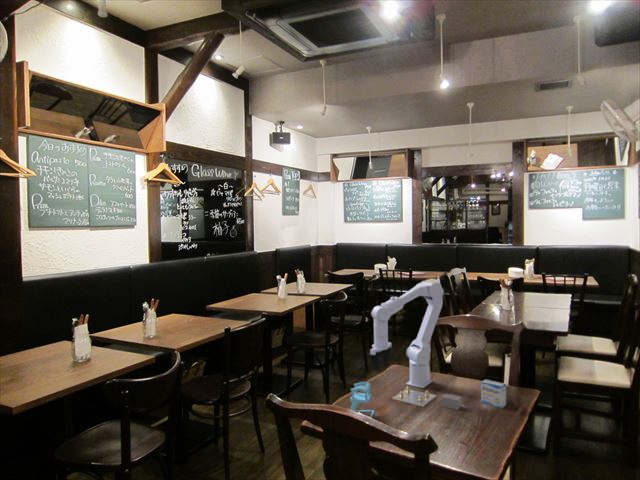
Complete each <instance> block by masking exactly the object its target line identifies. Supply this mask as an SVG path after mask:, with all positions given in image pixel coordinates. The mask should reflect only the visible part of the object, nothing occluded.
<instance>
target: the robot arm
mask: <svg viewBox="0 0 640 480" xmlns="http://www.w3.org/2000/svg"><path fill="white" fill-rule="evenodd" d="M444 293H445V290H444V288H443V287H442V284H441V283H439V282H433V281H432V282H431V281H428V280H422V281H421V282H419V283H417V284H416V285H415V286H414V287H412V288H410V289H409V290H408V291H405V293H403V294H402V295H400V296H399V297H397V296H391V297H390V298H389V300H387V301H385V302H382V303H381V304H380V305H376V306H374V307H373V309H372V310H371V312H370V315H371V317H372V318H373V344H372V345H371V347H372V348H370V350H369V351H370V352H369V353H368V357H369V358H370V360H371V362H372V366H373V370H374V371H376V372H379V371H380V370H381V361H382V364H383V366H384V367H389V366H390V361H391V356H392V354H393V352H394V347H393V348H392V342H389V333H388V332H389V330H388V329H389V326H388V322H389V320H390V318H391V316H393V315H394V314H396V313H397V312H399V311H401V310H402V309H403V308H404V306H405V304H407V303H409V302H411V301H413V300H414V299H416V298H418V297H423V298H424V299H425V300H426V302H427V304H428V306H427V307H426V311H425V314H424V317H423V319H422V322H421V325H420V328H419V331H418V333H417V336H416V338H415V339H414V340H413V341H411V343H410V345H409V347H407V349H406V357H407V358H408V359H409V380H408V382H406V383H405V385H407V386H412V387H416V388H422V389H423V388H425V387H428V385H430V384H431V383H432V382H433V380H432V379H431V367H430V364H429V363H430V362H429V361H430V359H431V352H432V351H431V350H432V349H431V346H430V342H431V338H432V336H433V333H434V330H435V328H436V327H435V326H436V325H437V322H438V320H439V316H440V314H441V310H442V309H443V301H444V300H443V295H444ZM380 353H381V354H380Z"/></svg>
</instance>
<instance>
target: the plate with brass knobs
mask: <svg viewBox="0 0 640 480" xmlns="http://www.w3.org/2000/svg"><path fill="white" fill-rule="evenodd" d="M410 388H411V387H410V386H406V388H405V389H403V390H400V391H399V393H397V394H396V395H395V396H393V397H392V400H395V401H400V402H404V403H406V404H407V403H408V404H411V405H415V406H419V407H420V406H421V407H425V406H427V405H428V403H430V402H432V401H433V400H434V399H435V398H436V397H437V395H436V394H432V393H429V390H425V391H424V392H423V391H419V390H413V389H410Z"/></svg>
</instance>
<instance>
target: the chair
mask: <svg viewBox="0 0 640 480" xmlns="http://www.w3.org/2000/svg"><path fill="white" fill-rule="evenodd" d="M371 385H372V384H371V383H370V382H367V381H359V382H357V383H353V386H354V387H353V388H350V391H351V397H350V399H349V401H350V402H351V407H350V410H354V411H358V412H357V413H371V414H370V416H369V417H373V416H374V413H375V410H374V409H373V410H371V409H368V410H367V409H364V410H362V409H361V410H359V409H358V410H356V409H357V407H358V404H362V403H364V404H369V402H370V400H371V398H372V396H373V394H372V393H371V392H370V391H371ZM358 391H361V392H358ZM362 392H364V393H362Z"/></svg>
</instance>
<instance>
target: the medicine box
mask: <svg viewBox="0 0 640 480" xmlns="http://www.w3.org/2000/svg"><path fill="white" fill-rule="evenodd" d="M480 385H481V386H480V397H481V398H480V403H481V404H483V405H487V406H491V407H495V408H499V409H503V408H505V406H506V405H507V384H506V383H503V382H501V381H500V382H499V381H494V380H491V379H487V378H486V379H484V380H482V381H480Z"/></svg>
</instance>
